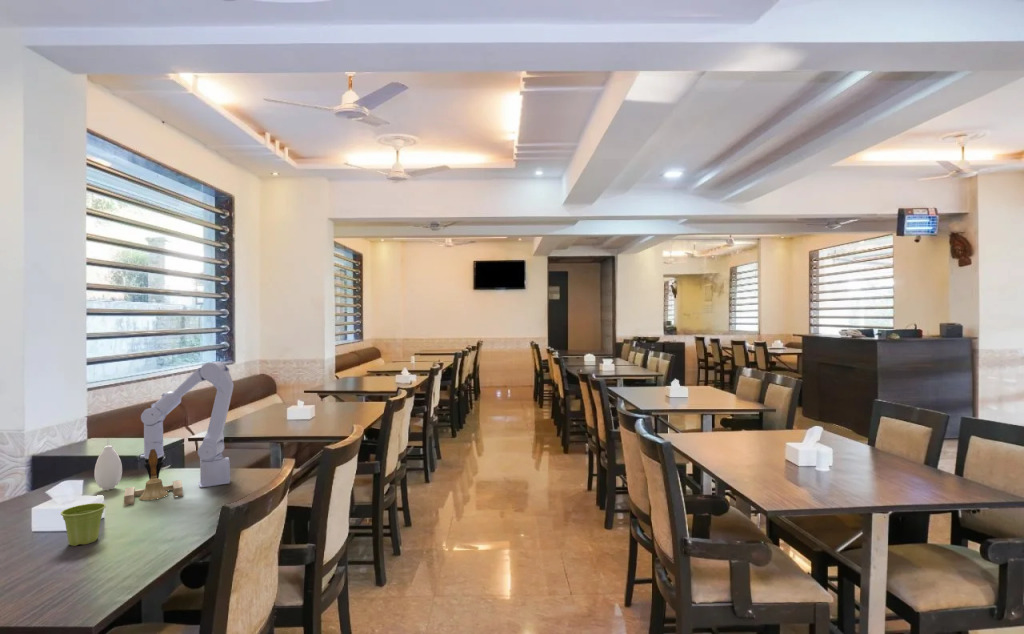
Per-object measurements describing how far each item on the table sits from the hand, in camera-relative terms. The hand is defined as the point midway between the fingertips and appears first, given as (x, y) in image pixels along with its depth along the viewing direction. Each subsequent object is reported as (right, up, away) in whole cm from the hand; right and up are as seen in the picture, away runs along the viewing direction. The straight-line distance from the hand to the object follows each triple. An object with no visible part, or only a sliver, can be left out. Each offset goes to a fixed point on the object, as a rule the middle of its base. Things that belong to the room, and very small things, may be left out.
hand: (154, 479), depth 194 cm
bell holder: (+7, -3, -11) cm, 13 cm away
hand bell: (+7, -3, -11) cm, 13 cm away
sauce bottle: (-16, -4, -1) cm, 16 cm away
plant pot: (+14, -2, -50) cm, 51 cm away
